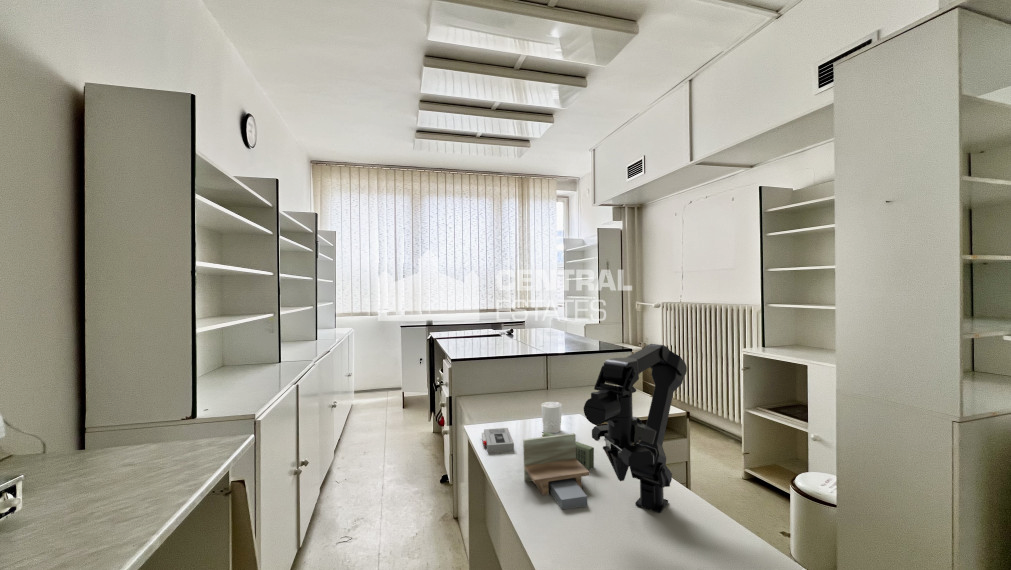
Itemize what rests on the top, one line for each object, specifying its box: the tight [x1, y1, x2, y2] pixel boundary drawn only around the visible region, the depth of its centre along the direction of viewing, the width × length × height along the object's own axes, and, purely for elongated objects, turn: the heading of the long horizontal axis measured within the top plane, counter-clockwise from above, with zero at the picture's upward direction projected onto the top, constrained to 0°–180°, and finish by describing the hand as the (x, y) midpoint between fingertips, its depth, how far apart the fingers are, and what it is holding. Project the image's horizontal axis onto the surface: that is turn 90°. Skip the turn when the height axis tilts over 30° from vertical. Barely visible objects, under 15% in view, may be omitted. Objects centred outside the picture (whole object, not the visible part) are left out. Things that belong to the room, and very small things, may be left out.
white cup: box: [541, 401, 563, 434], centre depth 165 cm, size 8×8×10 cm
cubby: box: [522, 432, 590, 496], centre depth 121 cm, size 10×16×12 cm, turn 104°
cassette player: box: [481, 427, 515, 454], centre depth 153 cm, size 16×3×10 cm
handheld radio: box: [541, 431, 595, 471], centre depth 140 cm, size 7×3×25 cm
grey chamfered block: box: [548, 478, 588, 510], centre depth 116 cm, size 16×7×2 cm, turn 12°
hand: (621, 480), depth 100 cm, fingers closed
